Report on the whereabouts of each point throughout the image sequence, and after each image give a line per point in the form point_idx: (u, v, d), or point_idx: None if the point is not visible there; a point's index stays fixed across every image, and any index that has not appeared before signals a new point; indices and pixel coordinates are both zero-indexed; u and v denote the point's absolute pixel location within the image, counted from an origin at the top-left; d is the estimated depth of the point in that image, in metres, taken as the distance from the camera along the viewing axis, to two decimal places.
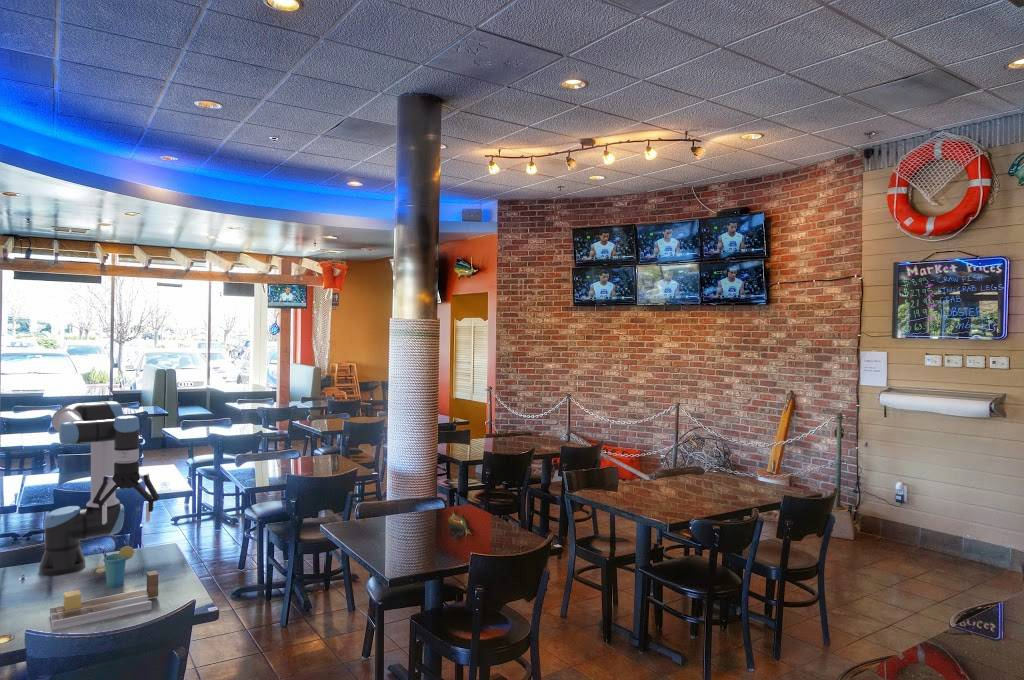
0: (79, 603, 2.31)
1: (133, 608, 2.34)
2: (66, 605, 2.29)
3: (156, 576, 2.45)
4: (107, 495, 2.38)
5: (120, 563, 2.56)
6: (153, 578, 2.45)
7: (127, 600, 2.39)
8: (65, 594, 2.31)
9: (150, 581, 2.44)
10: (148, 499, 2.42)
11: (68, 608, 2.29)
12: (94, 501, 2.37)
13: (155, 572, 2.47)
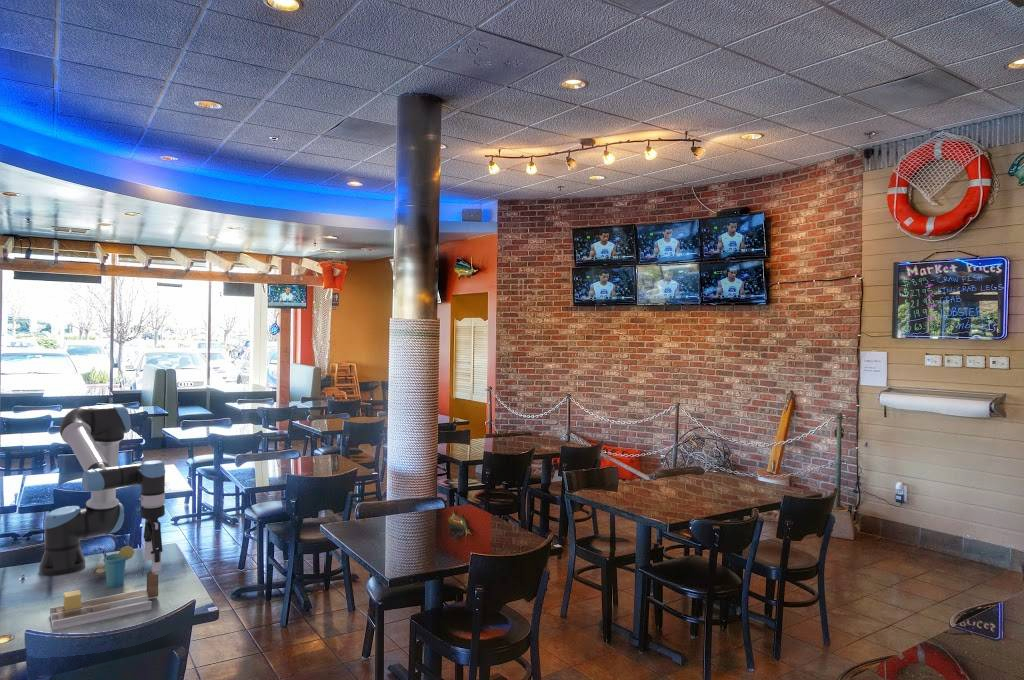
0: (79, 603, 2.31)
1: (133, 608, 2.34)
2: (66, 605, 2.29)
3: (156, 576, 2.45)
4: (146, 534, 2.49)
5: (120, 563, 2.56)
6: (153, 578, 2.45)
7: (127, 600, 2.39)
8: (65, 594, 2.31)
9: (150, 581, 2.44)
10: (152, 549, 2.39)
11: (68, 608, 2.29)
12: (143, 536, 2.52)
13: (155, 572, 2.47)
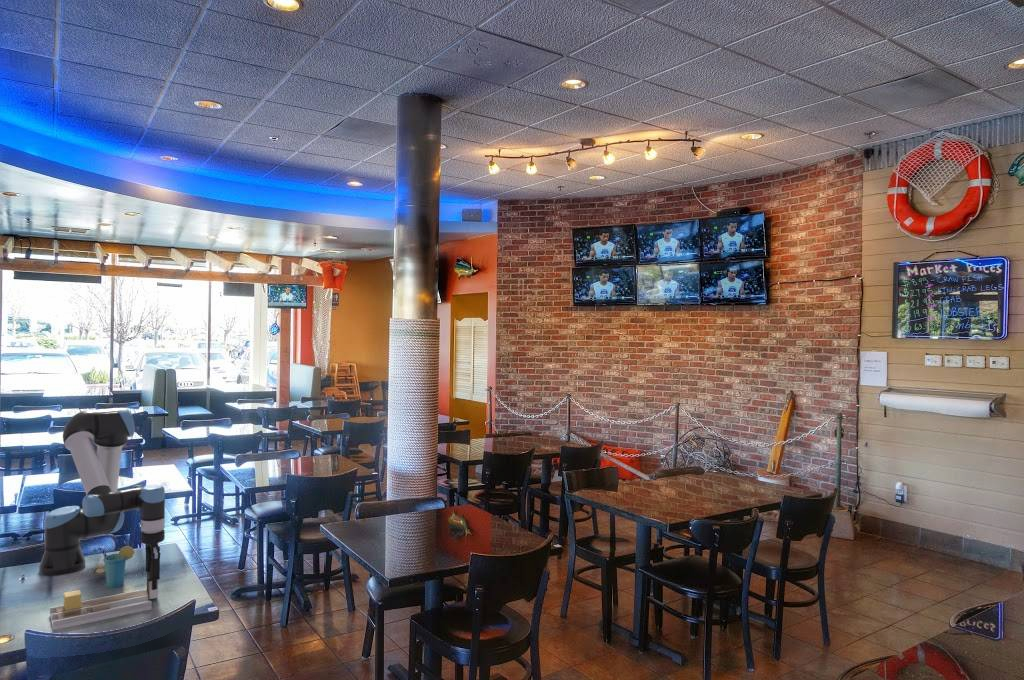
0: (79, 603, 2.31)
1: (133, 608, 2.34)
2: (66, 605, 2.29)
3: None
4: (147, 564, 2.47)
5: (120, 563, 2.56)
6: None
7: (127, 600, 2.39)
8: (65, 594, 2.31)
9: None
10: (150, 576, 2.43)
11: (68, 608, 2.29)
12: None
13: None
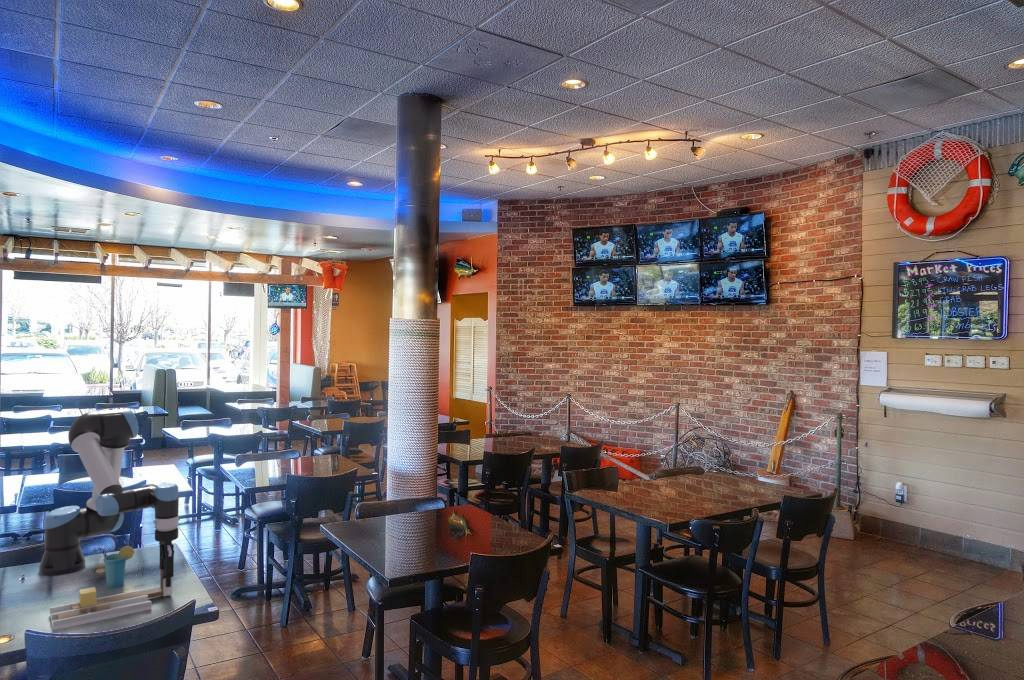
0: (94, 600, 2.34)
1: (133, 608, 2.34)
2: (82, 602, 2.32)
3: None
4: (161, 562, 2.50)
5: (120, 563, 2.56)
6: None
7: (127, 600, 2.39)
8: (81, 591, 2.33)
9: None
10: (164, 574, 2.46)
11: (84, 605, 2.32)
12: (159, 567, 2.52)
13: None
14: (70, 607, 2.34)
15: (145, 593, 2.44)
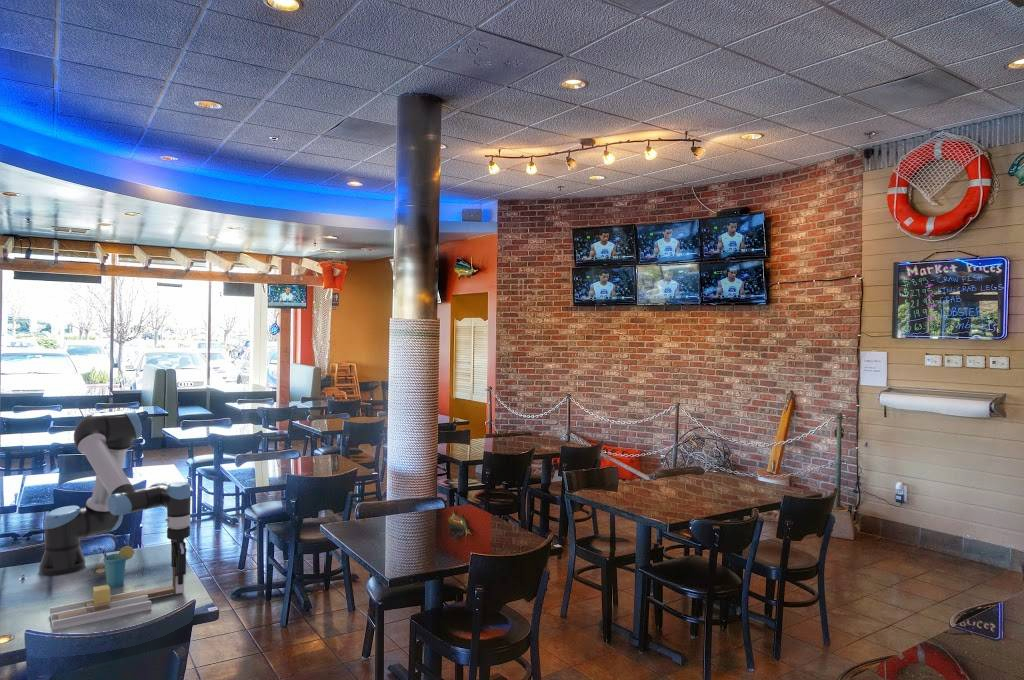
0: (108, 597, 2.36)
1: (133, 608, 2.34)
2: (96, 599, 2.34)
3: None
4: (173, 560, 2.53)
5: (120, 563, 2.56)
6: None
7: (127, 600, 2.39)
8: (94, 588, 2.36)
9: None
10: (176, 571, 2.48)
11: (98, 602, 2.34)
12: (171, 565, 2.55)
13: None
14: (70, 607, 2.34)
15: (158, 590, 2.46)
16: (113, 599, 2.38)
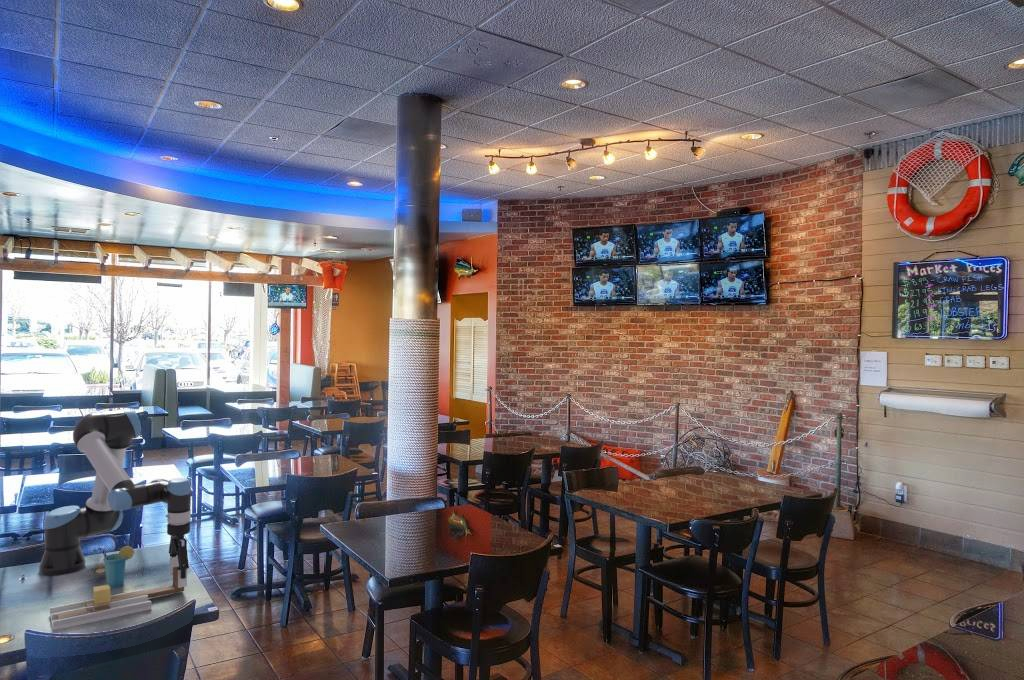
0: (108, 597, 2.36)
1: (133, 608, 2.34)
2: (96, 599, 2.34)
3: None
4: (171, 549, 2.55)
5: (120, 563, 2.56)
6: None
7: (127, 600, 2.39)
8: (95, 588, 2.36)
9: (176, 576, 2.49)
10: (179, 565, 2.45)
11: (98, 602, 2.34)
12: (169, 551, 2.58)
13: None
14: (70, 607, 2.34)
15: (158, 590, 2.46)
16: (113, 599, 2.38)
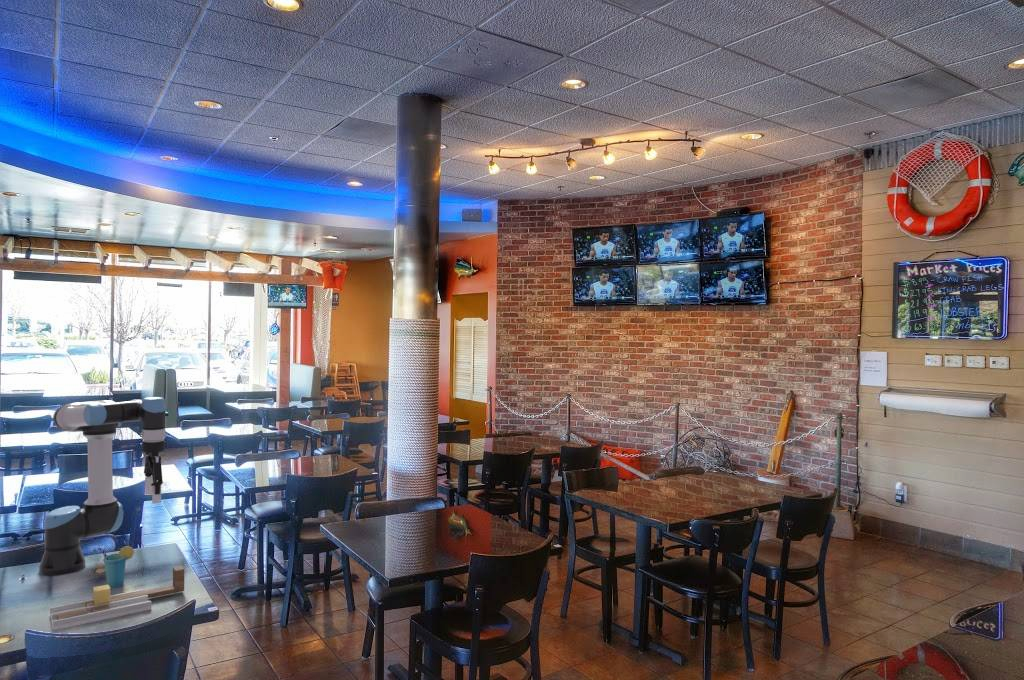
0: (108, 597, 2.36)
1: (133, 608, 2.34)
2: (96, 599, 2.34)
3: (182, 571, 2.50)
4: (146, 468, 2.56)
5: (120, 563, 2.56)
6: (179, 573, 2.50)
7: (127, 600, 2.39)
8: (95, 588, 2.36)
9: (176, 576, 2.49)
10: (153, 481, 2.46)
11: (98, 602, 2.34)
12: (144, 471, 2.59)
13: (181, 567, 2.52)
14: (70, 607, 2.34)
15: (158, 590, 2.46)
16: (113, 599, 2.38)
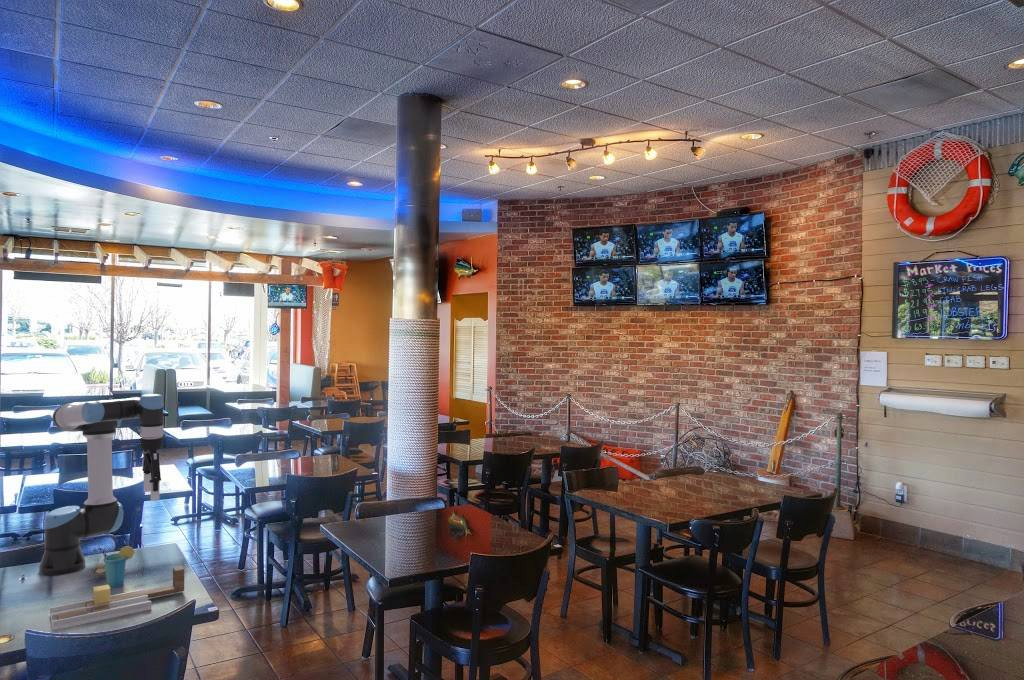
0: (108, 597, 2.36)
1: (133, 608, 2.34)
2: (96, 599, 2.34)
3: (182, 571, 2.50)
4: (144, 466, 2.56)
5: (120, 563, 2.56)
6: (179, 573, 2.50)
7: (127, 600, 2.39)
8: (95, 588, 2.36)
9: (176, 576, 2.49)
10: (151, 478, 2.46)
11: (98, 602, 2.34)
12: (142, 469, 2.59)
13: (181, 567, 2.52)
14: (70, 607, 2.34)
15: (158, 590, 2.46)
16: (113, 599, 2.38)
